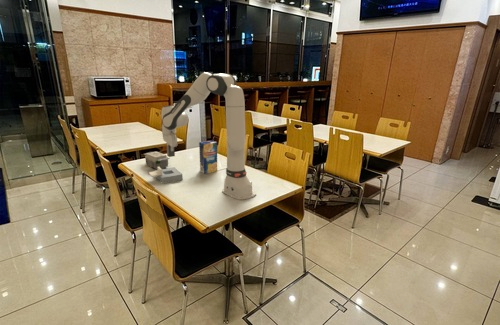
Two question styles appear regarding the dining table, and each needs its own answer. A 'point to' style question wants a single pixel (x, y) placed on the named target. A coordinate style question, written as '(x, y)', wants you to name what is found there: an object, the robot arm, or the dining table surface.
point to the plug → (170, 153)
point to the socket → (169, 175)
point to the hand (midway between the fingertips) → (170, 150)
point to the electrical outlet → (156, 160)
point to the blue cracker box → (208, 156)
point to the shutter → (156, 172)
